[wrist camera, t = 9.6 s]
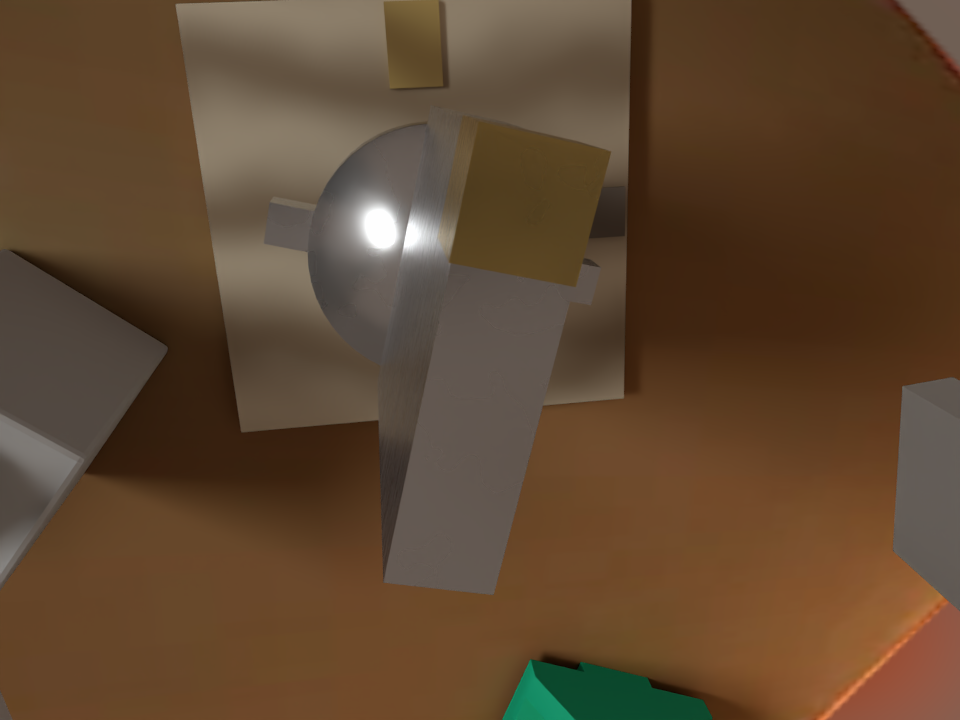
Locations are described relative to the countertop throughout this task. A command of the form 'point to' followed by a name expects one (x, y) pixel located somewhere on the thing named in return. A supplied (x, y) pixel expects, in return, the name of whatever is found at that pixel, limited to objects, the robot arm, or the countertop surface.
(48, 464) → the soap bottle
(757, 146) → the countertop surface
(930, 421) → the robot arm
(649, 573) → the countertop surface
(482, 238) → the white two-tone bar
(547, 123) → the board
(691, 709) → the camera mount
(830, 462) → the countertop surface
